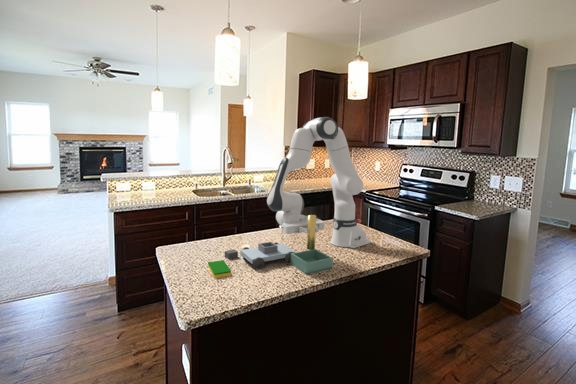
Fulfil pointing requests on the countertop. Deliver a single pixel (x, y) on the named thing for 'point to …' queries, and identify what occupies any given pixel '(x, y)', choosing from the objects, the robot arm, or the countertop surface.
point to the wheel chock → (231, 254)
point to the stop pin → (311, 232)
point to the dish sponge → (219, 269)
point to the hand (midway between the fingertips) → (312, 230)
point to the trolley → (266, 253)
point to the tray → (311, 261)
